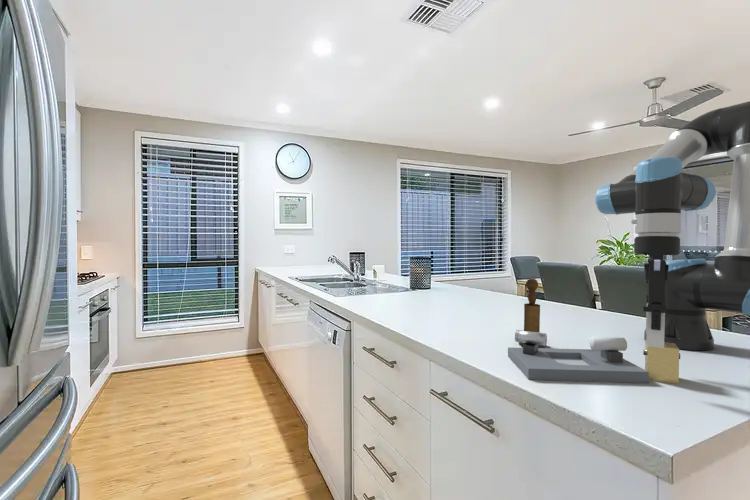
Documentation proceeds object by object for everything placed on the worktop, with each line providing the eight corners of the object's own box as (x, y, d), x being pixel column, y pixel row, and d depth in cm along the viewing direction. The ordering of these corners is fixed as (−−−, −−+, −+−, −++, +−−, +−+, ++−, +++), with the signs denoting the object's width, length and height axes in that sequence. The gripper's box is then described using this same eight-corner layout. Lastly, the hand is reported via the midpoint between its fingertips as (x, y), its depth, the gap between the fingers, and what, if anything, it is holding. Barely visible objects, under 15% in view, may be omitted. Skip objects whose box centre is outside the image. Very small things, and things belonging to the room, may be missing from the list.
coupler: (677, 377, 79) (677, 343, 79) (681, 385, 75) (682, 349, 75) (642, 372, 82) (642, 339, 82) (644, 379, 78) (644, 345, 78)
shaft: (547, 352, 90) (547, 331, 89) (543, 356, 86) (543, 335, 86) (518, 347, 93) (518, 328, 93) (513, 352, 90) (513, 331, 90)
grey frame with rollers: (606, 358, 92) (607, 329, 92) (648, 383, 76) (649, 347, 76) (507, 356, 94) (508, 327, 94) (528, 379, 78) (528, 344, 78)
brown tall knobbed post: (547, 349, 100) (547, 280, 100) (520, 348, 101) (521, 279, 101) (541, 343, 107) (542, 278, 106) (516, 341, 108) (517, 277, 108)
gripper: (635, 237, 91) (633, 327, 91) (633, 233, 70) (630, 349, 70) (675, 237, 86) (673, 332, 86) (686, 232, 66) (683, 356, 66)
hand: (654, 340), depth 78 cm, fingers open, 13 cm apart
